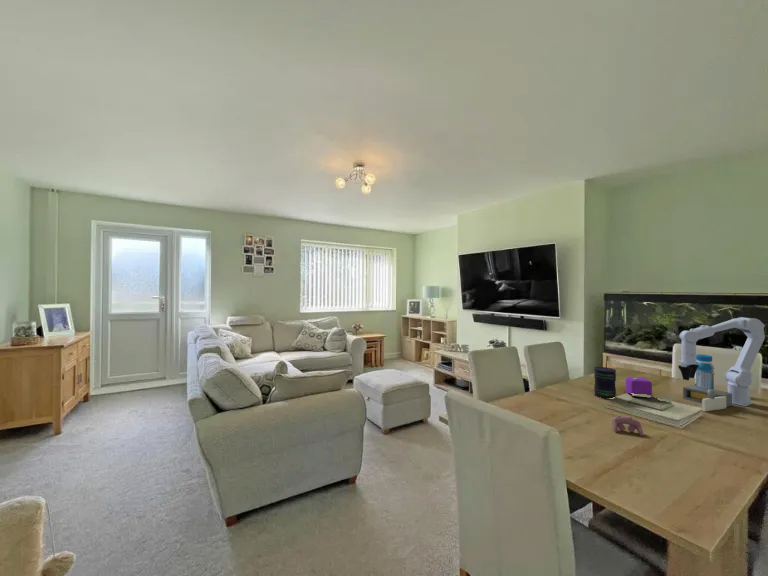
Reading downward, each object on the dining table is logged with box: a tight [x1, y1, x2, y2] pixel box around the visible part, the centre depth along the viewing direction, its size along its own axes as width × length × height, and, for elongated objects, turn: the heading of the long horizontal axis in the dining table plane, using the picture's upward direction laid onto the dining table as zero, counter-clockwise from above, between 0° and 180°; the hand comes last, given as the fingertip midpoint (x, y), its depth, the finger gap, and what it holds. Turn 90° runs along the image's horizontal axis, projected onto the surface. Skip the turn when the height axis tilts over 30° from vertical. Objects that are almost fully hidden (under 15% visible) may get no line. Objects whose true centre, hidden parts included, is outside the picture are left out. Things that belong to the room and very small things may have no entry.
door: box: [701, 389, 727, 412], centre depth 158 cm, size 2×16×10 cm, turn 106°
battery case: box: [682, 384, 733, 408], centre depth 171 cm, size 9×16×6 cm, turn 26°
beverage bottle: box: [694, 353, 715, 390], centre depth 191 cm, size 8×8×20 cm
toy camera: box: [625, 376, 653, 396], centre depth 181 cm, size 11×14×10 cm
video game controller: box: [611, 415, 644, 437], centre depth 134 cm, size 10×5×7 cm, turn 66°
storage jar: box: [593, 366, 617, 399], centre depth 178 cm, size 10×10×15 cm
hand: (688, 378), depth 175 cm, fingers open, 7 cm apart
